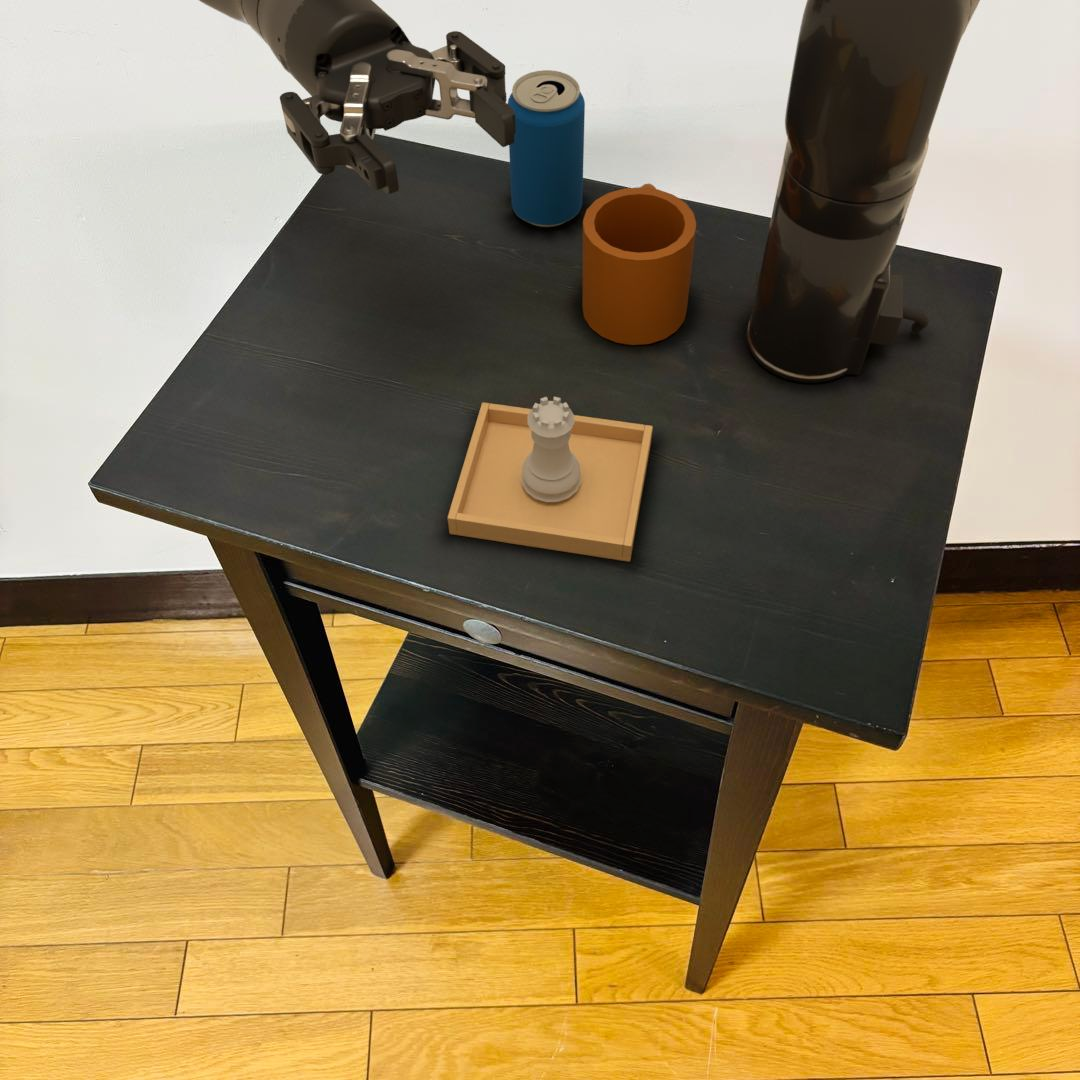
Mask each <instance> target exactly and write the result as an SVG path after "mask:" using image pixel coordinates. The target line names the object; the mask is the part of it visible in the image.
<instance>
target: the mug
mask: <svg viewBox="0 0 1080 1080" xmlns="http://www.w3.org/2000/svg"><path fill="white" fill-rule="evenodd" d="M696 231H697V221H696V217H695V213H694V212H693V209H691V208H690V206H689V204H687V203H686V202H685V201H683V200H682V199H681V198H679V197H678V196H677V195H674V194H673V193H671V192H670V193H669V192H667V191H663V190H661V189H658V188H656V186H655V185H654V184H651V183H644V184H643V185H641V186H638V187H626V188H621V189H617V190H614V191H611V192H607V193H606V194H604V195H601V196H600V197H599V198H597V199H595V200H594V201H593V202H592V203H591V205H589V207H588V208H586V210H585V214H584V216H583V220H582V305H581V306H582V313H583V318H584V320H585V321H586V323H587V324H588V326H589V328H590V329H591V330H592V331H594V332H595V333H597V334H598V335H599V336H600V337H602V338H604V339H607V340H609V341H611V342H614V343H617V344H623V345H629V346H640V345H650V344H653V343H657V342H661V341H663V340H666V339H667V338H668V337H670V336H672V335H673V334H675V333H676V332H677V331H678V330H679V329H680V328H681V326H682V325H683V324H684V322H685V320H686V315H687V311H688V304H689V294H690V285H691V277H692V276H691V275H692V268H693V258H694V249H695V242H696V233H697V232H696Z"/></svg>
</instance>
